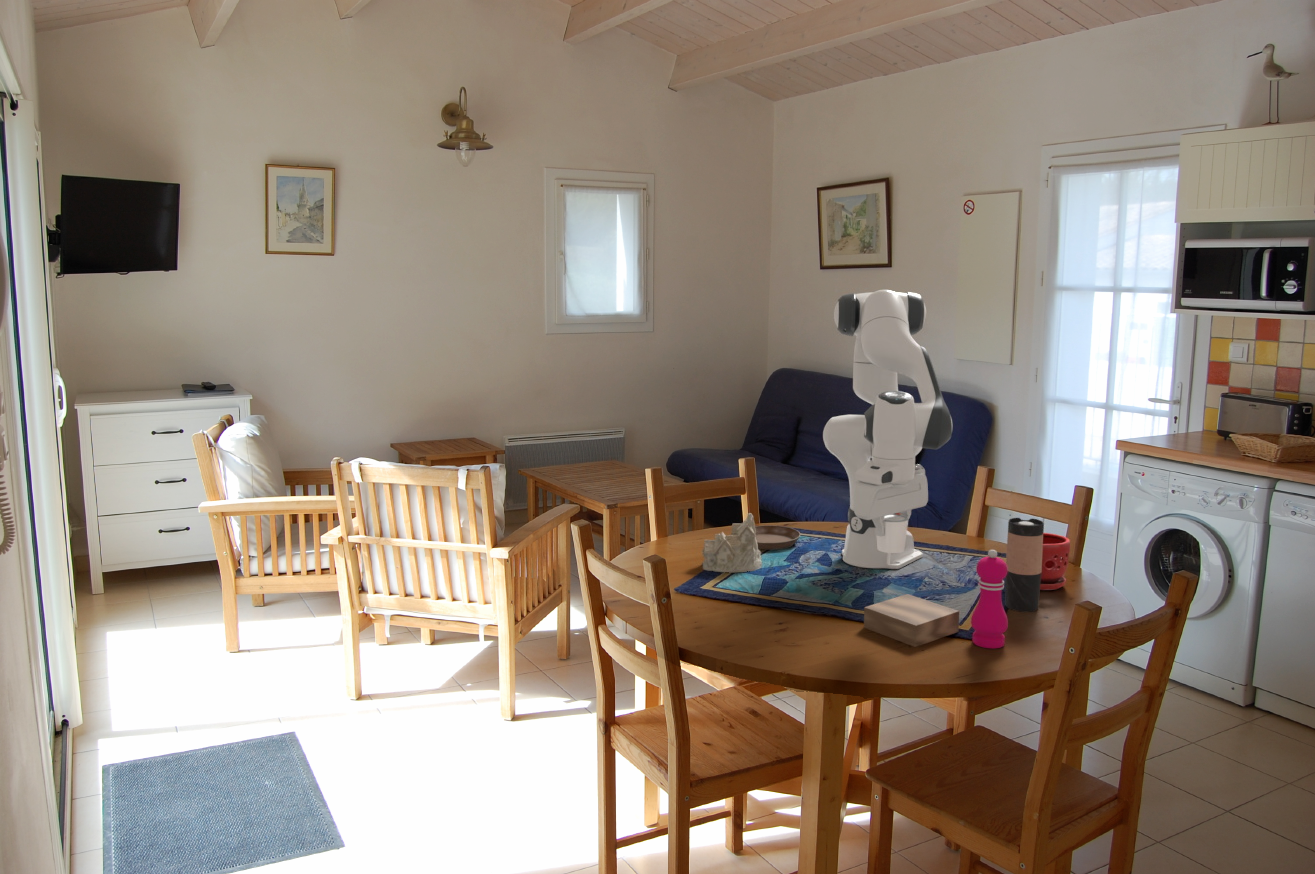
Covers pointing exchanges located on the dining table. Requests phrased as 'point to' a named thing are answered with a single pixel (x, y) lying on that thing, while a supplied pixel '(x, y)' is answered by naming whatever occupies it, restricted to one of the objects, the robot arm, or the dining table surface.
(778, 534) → the plant saucer
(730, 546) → the ceramic cottage
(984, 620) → the pepper mill
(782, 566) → the dining table surface
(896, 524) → the white cup
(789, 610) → the dining table surface
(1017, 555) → the travel mug
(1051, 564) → the plant pot
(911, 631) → the walnut base block
